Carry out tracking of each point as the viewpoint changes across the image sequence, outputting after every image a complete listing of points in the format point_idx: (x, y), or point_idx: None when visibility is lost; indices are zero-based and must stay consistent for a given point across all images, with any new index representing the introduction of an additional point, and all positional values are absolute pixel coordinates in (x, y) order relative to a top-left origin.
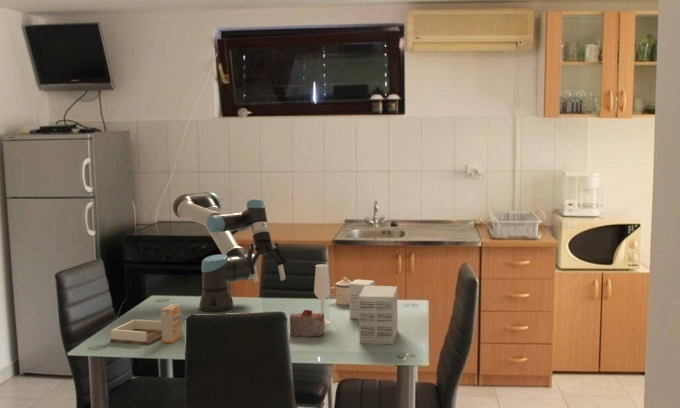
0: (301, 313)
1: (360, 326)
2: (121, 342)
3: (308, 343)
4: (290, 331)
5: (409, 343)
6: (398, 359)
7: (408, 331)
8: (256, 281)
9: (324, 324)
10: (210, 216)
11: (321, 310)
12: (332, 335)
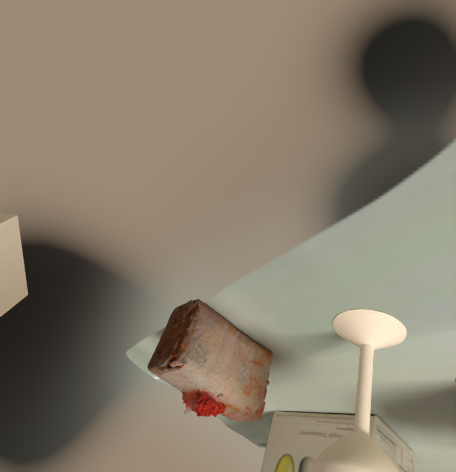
0: (193, 388)
1: (265, 455)
2: None
3: None
4: (167, 324)
5: None
6: (254, 443)
7: (427, 463)
8: (12, 259)
9: (347, 340)
10: None
11: (358, 380)
12: (273, 372)
